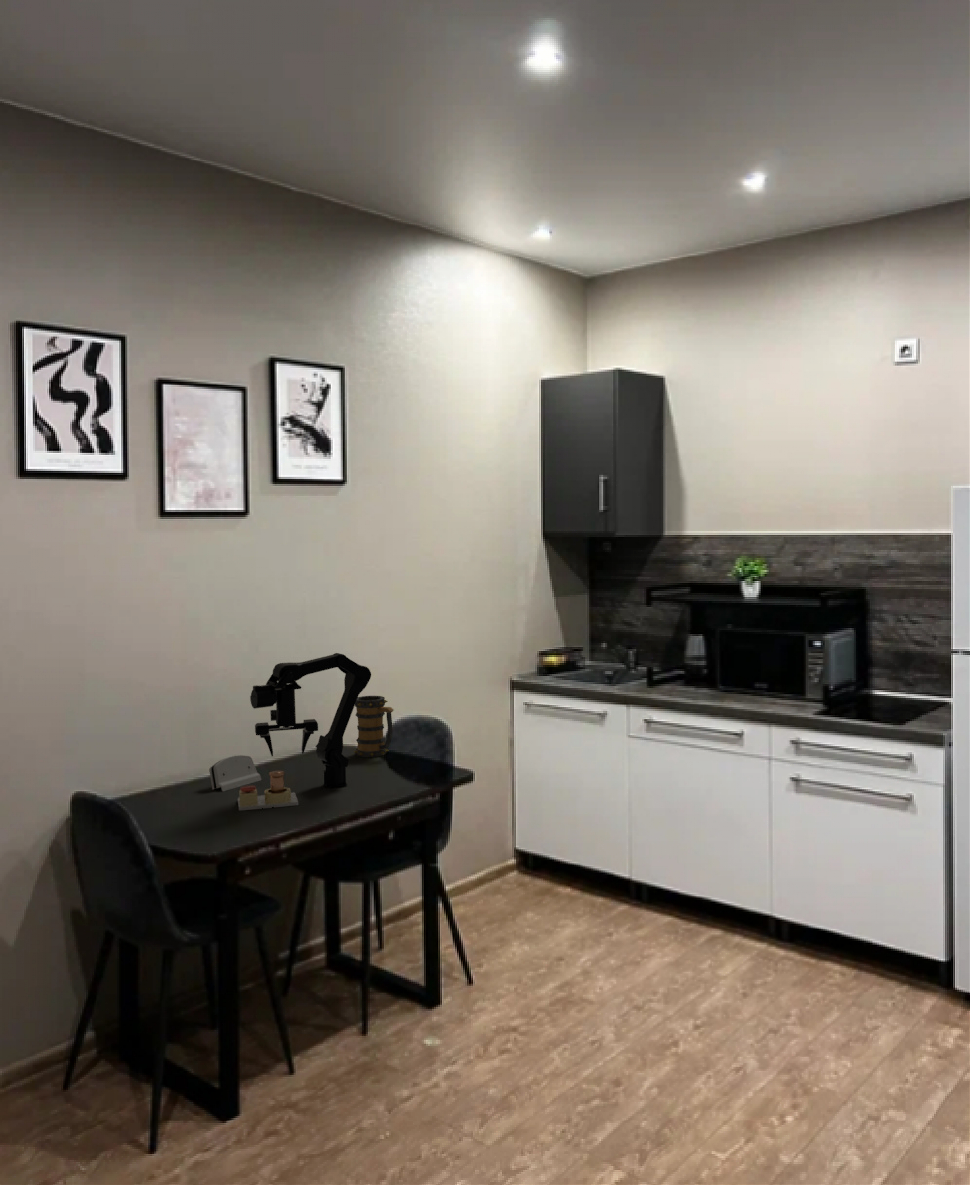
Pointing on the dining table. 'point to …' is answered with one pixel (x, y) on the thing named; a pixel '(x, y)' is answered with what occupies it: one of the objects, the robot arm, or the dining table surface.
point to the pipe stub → (277, 781)
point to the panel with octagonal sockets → (264, 798)
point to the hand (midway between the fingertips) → (287, 754)
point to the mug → (372, 726)
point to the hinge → (233, 772)
